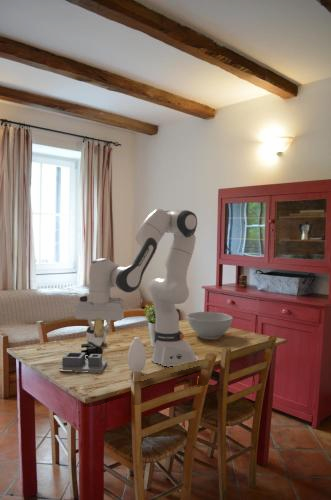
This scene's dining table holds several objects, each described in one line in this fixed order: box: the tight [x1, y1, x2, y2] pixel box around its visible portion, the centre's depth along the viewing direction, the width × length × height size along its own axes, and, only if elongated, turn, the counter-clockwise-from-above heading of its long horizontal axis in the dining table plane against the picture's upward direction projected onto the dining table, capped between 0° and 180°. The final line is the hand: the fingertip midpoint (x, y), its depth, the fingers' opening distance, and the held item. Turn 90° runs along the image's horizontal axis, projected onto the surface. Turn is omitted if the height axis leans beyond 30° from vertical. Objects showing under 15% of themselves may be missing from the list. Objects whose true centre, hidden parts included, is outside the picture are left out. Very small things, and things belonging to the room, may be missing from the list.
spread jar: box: [85, 320, 107, 347], centre depth 208 cm, size 12×11×12 cm
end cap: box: [80, 342, 104, 359], centre depth 186 cm, size 10×7×7 cm
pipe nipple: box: [93, 318, 105, 338], centre depth 162 cm, size 4×4×8 cm
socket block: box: [59, 351, 108, 373], centre depth 173 cm, size 18×12×6 cm, turn 87°
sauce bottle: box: [127, 331, 147, 372], centre depth 167 cm, size 8×8×18 cm
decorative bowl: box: [186, 311, 234, 340], centre depth 230 cm, size 27×27×12 cm
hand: (98, 330), depth 163 cm, fingers closed on pipe nipple, 4 cm apart
